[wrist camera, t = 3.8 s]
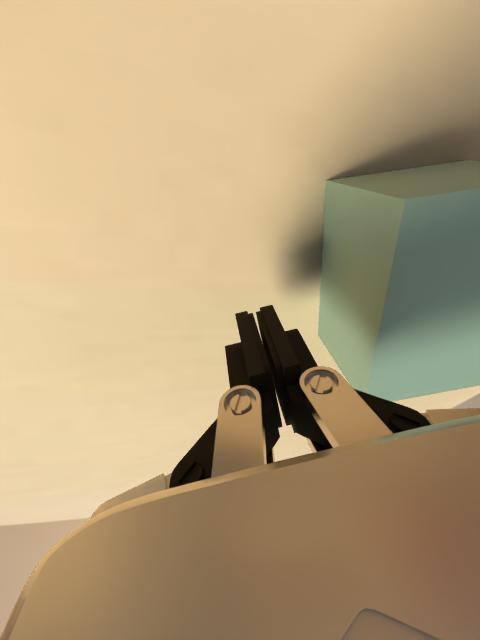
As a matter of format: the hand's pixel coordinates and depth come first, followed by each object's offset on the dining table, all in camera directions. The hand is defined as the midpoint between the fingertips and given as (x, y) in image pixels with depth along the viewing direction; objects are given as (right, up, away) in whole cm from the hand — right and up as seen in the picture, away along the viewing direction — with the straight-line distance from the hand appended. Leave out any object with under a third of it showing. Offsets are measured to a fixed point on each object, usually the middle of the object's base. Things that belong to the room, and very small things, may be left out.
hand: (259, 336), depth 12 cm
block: (+7, +4, +3) cm, 9 cm away
